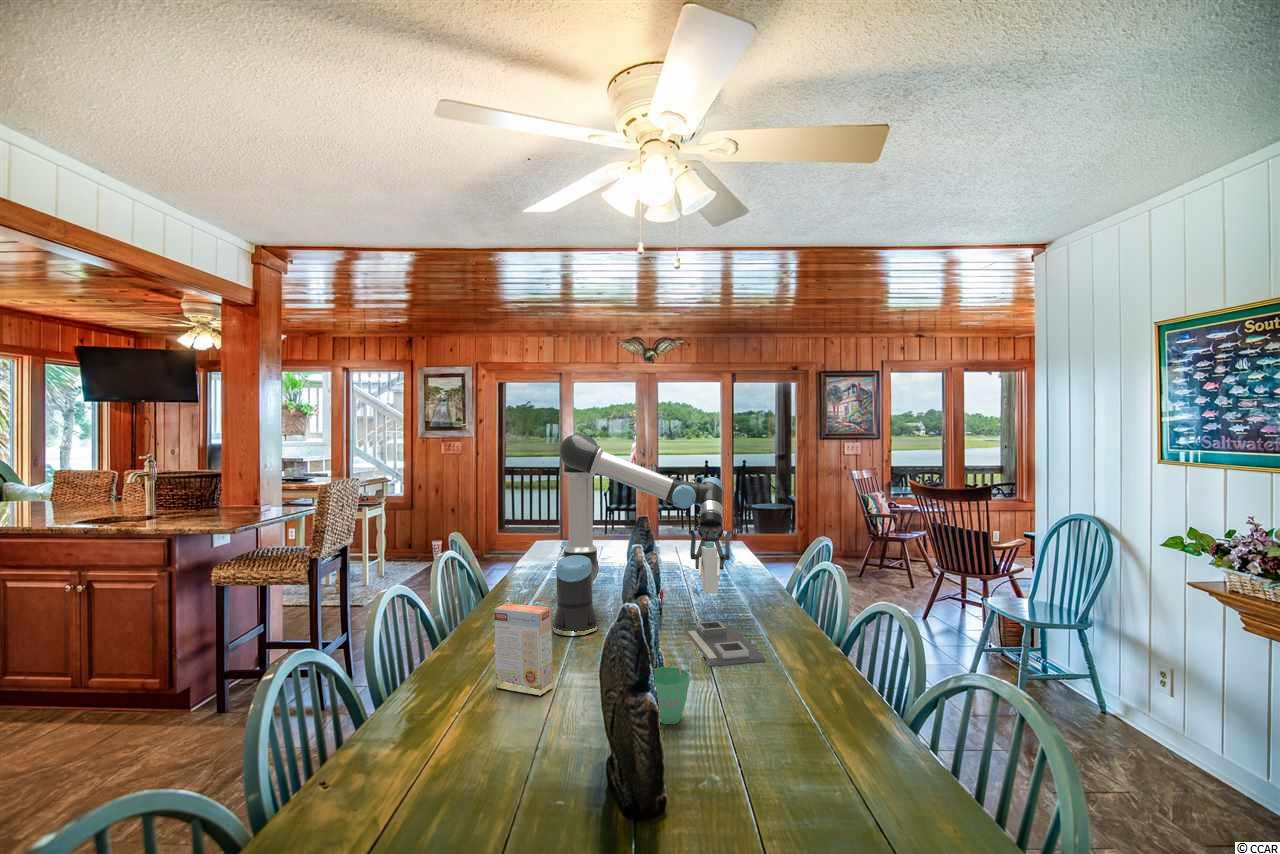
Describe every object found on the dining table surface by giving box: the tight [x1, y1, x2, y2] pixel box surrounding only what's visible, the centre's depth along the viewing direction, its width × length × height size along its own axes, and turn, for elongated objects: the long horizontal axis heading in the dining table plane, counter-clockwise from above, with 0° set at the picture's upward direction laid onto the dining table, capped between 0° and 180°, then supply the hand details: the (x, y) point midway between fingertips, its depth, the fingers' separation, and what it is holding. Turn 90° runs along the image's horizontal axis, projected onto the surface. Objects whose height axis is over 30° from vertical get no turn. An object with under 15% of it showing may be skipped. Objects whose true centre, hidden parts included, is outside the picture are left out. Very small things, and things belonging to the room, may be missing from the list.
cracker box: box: [493, 602, 554, 690], centre depth 157 cm, size 14×6×21 cm, turn 65°
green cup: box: [653, 666, 691, 725], centre depth 138 cm, size 15×10×10 cm
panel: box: [683, 620, 766, 667], centre depth 184 cm, size 16×30×3 cm, turn 10°
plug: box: [701, 541, 719, 594], centre depth 194 cm, size 4×4×16 cm
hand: (709, 577), depth 191 cm, fingers closed on plug, 5 cm apart
